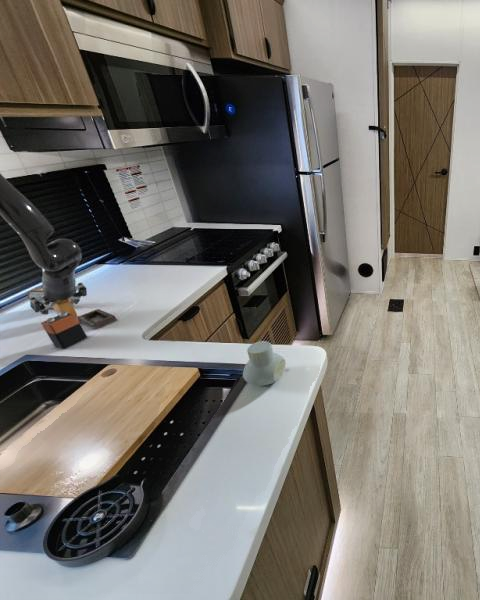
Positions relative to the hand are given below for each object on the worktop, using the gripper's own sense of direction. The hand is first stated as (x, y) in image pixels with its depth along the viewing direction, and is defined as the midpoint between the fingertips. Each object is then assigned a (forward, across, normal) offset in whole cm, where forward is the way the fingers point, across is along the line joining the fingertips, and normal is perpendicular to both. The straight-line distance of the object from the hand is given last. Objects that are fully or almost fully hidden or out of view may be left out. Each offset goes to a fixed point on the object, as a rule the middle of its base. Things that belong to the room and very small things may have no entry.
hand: (60, 307), depth 117 cm
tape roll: (+2, 0, +4) cm, 5 cm away
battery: (-12, +7, +19) cm, 23 cm away
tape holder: (-6, -4, +13) cm, 15 cm away
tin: (+13, -2, -6) cm, 15 cm away
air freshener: (-61, -9, +68) cm, 92 cm away
